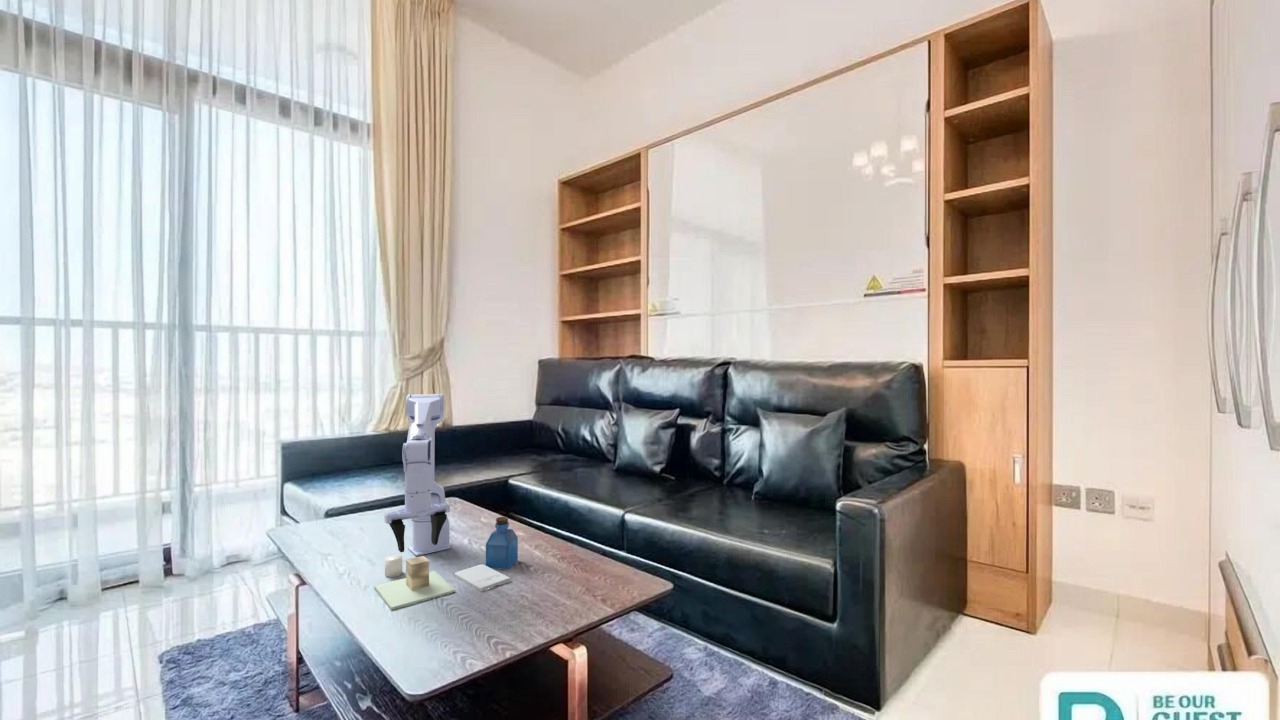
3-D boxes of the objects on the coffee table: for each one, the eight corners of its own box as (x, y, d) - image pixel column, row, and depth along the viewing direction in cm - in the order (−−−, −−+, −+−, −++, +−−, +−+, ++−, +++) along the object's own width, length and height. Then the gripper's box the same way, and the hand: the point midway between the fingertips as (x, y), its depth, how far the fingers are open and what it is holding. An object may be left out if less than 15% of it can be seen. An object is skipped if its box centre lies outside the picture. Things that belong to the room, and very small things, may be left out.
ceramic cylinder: (399, 569, 140) (399, 553, 140) (404, 574, 137) (404, 558, 137) (382, 573, 138) (382, 557, 137) (387, 578, 135) (387, 562, 135)
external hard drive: (483, 569, 142) (510, 583, 133) (454, 579, 136) (481, 594, 127) (483, 563, 142) (510, 576, 133) (453, 572, 136) (481, 587, 127)
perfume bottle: (485, 567, 142) (485, 521, 142) (495, 558, 148) (495, 514, 148) (508, 569, 141) (508, 523, 140) (517, 560, 147) (517, 515, 147)
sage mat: (434, 573, 138) (434, 570, 138) (455, 592, 127) (455, 589, 127) (374, 588, 129) (374, 585, 129) (391, 610, 118) (391, 607, 118)
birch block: (423, 580, 132) (423, 555, 132) (429, 585, 129) (429, 560, 129) (406, 584, 130) (406, 559, 129) (411, 590, 126) (411, 564, 126)
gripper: (390, 499, 122) (390, 559, 122) (454, 488, 131) (454, 545, 132) (381, 492, 128) (382, 550, 128) (443, 483, 137) (444, 537, 137)
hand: (418, 547), depth 130 cm, fingers open, 7 cm apart
